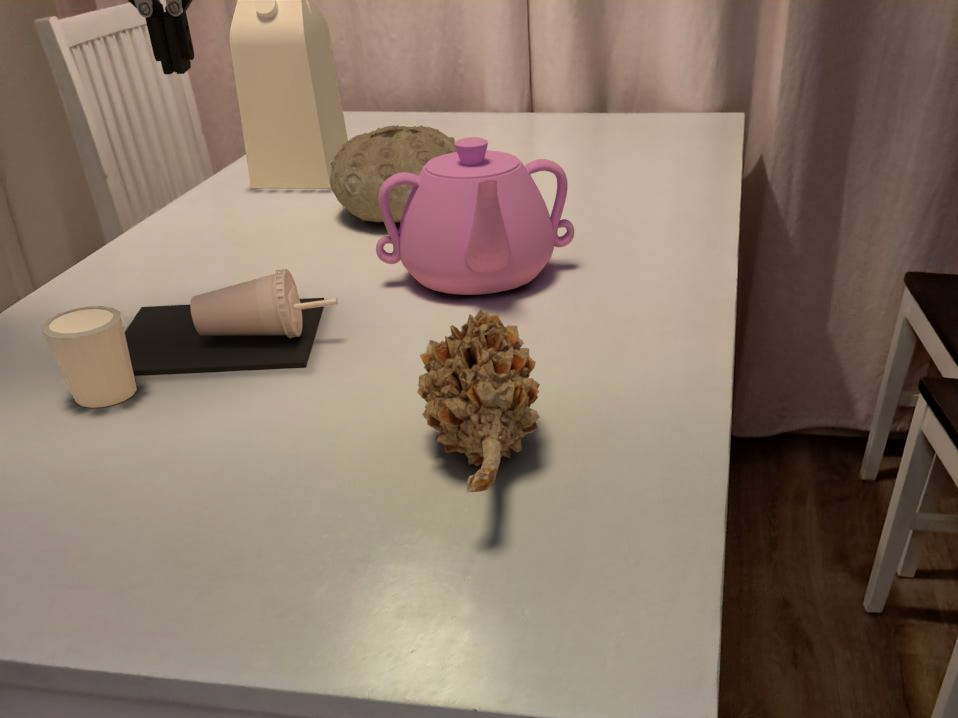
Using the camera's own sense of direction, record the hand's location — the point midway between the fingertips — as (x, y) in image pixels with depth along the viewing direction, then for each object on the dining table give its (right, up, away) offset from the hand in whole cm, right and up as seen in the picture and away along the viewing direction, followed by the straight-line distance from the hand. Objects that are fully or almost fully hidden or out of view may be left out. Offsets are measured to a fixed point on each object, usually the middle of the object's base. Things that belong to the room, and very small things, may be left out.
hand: (177, 70), depth 78 cm
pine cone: (+26, -35, -5) cm, 44 cm away
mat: (-1, -17, +17) cm, 24 cm away
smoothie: (-2, -16, +13) cm, 21 cm away
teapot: (+26, -9, +24) cm, 36 cm away
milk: (-1, +21, +59) cm, 63 cm away
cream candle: (-9, -25, +8) cm, 28 cm away
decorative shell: (+15, +8, +44) cm, 47 cm away
